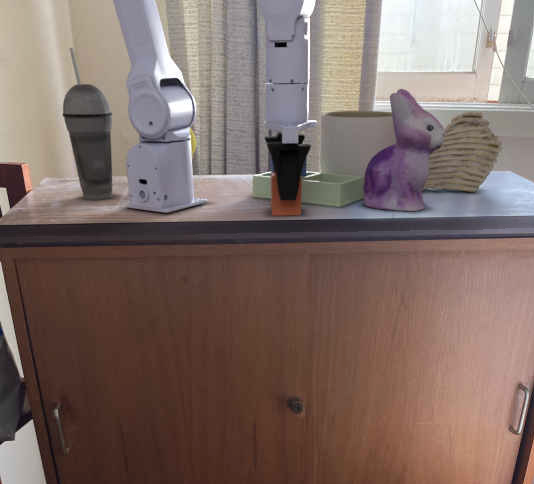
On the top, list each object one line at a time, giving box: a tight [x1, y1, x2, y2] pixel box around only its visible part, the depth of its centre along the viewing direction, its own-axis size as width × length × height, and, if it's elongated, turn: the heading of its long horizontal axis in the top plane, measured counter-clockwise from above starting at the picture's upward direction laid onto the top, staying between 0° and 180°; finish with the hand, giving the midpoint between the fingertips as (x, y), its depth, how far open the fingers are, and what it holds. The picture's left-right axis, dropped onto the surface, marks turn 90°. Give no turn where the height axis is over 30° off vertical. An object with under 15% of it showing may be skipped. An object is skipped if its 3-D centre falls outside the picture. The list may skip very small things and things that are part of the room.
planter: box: [319, 110, 396, 177], centre depth 111 cm, size 12×12×11 cm
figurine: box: [362, 88, 446, 212], centre depth 97 cm, size 9×10×15 cm
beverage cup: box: [62, 47, 114, 201], centre depth 102 cm, size 7×7×20 cm
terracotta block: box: [270, 173, 302, 217], centre depth 96 cm, size 4×4×5 cm
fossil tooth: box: [422, 111, 503, 193], centre depth 109 cm, size 12×6×15 cm
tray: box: [252, 170, 365, 208], centre depth 106 cm, size 15×8×3 cm, turn 57°
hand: (286, 194), depth 96 cm, fingers open, 7 cm apart
